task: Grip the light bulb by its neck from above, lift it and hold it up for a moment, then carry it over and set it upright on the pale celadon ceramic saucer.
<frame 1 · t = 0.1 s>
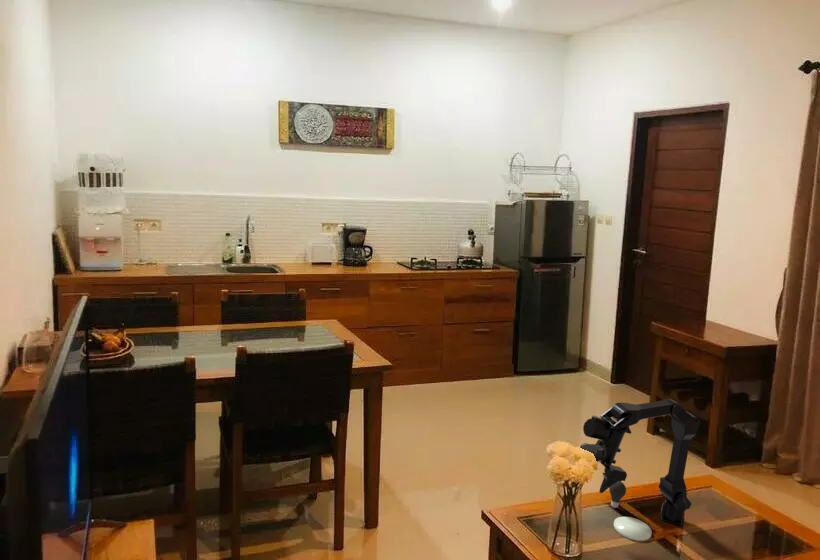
hand: (592, 484, 214), 15 cm above the table, tool pointing down, fingers open, 9 cm apart
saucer: (632, 529, 219), on the table
light bulb: (614, 508, 231), on the table
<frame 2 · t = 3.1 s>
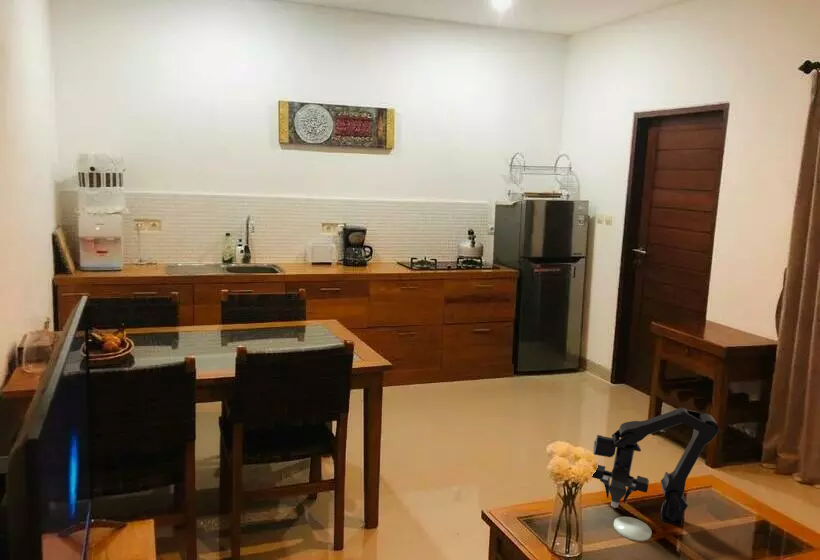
hand: (615, 499, 231), 3 cm above the table, tool pointing down, fingers closed on light bulb, 5 cm apart
light bulb: (614, 508, 231), on the table, touching gripper
when the fingers open (5 cm above the table, at t = 9.0 s): light bulb drops 1 cm, resting on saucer.
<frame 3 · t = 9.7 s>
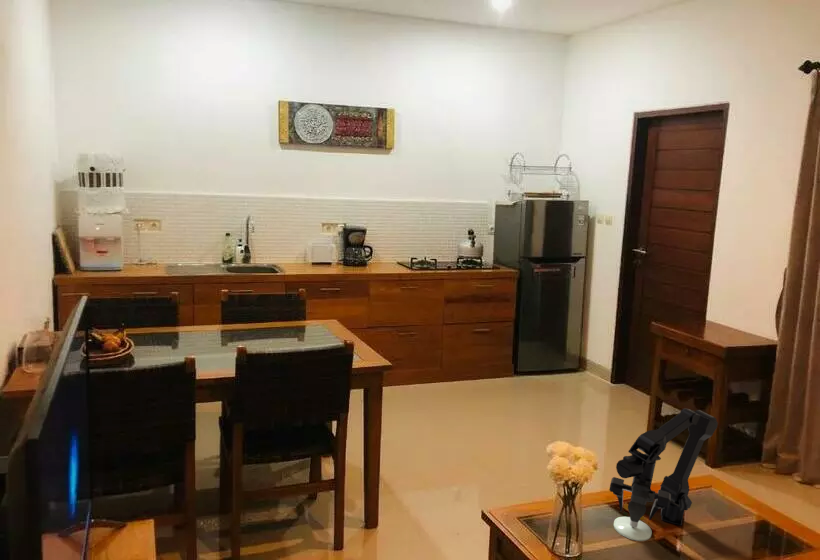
hand: (635, 515, 218), 5 cm above the table, tool pointing down, fingers open, 9 cm apart
light bulb: (632, 527, 219), point 1 cm above the table, touching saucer
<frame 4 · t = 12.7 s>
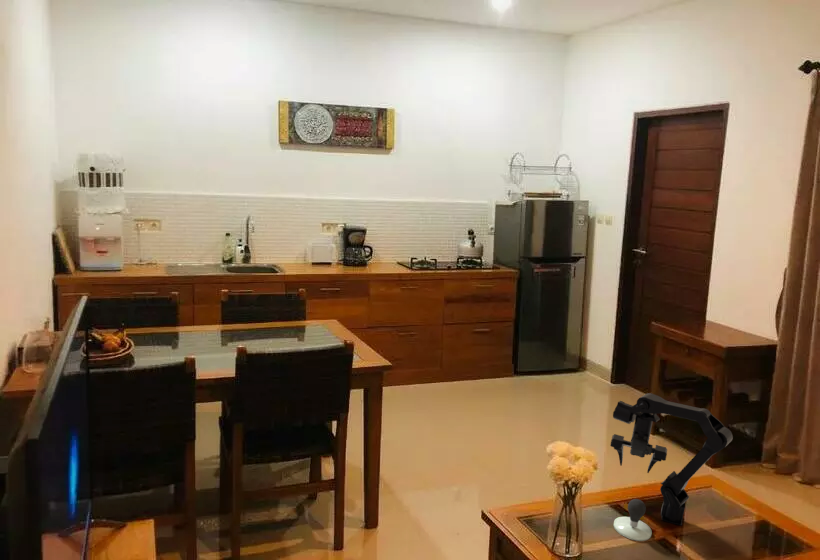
hand: (634, 468, 235), 12 cm above the table, tool pointing down, fingers open, 9 cm apart
nothing on the table moved.
at the end: light bulb inside the target area on the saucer (0.1 cm from its centre), point 0.8 cm above the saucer's base; light bulb tilted 0°; the gripper is holding nothing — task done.
